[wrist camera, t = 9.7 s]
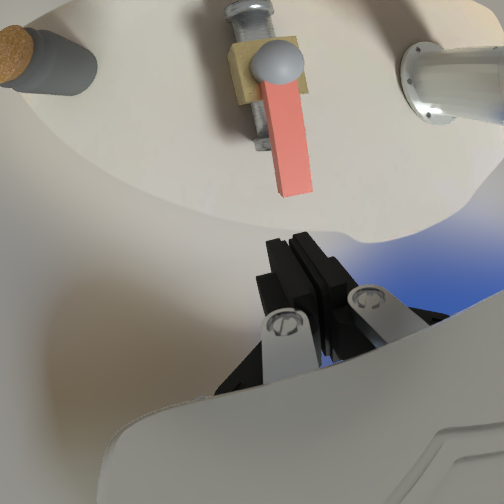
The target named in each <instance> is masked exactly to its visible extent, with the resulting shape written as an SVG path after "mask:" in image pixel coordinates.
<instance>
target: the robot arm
mask: <svg viewBox="0 0 504 504" xmlns="http://www.w3.org/2000/svg"><path fill="white" fill-rule="evenodd" d="M400 76H401V83H402V87H403V91H404V94H405V96H406V99H407V101H408V102H409V104H410V106H411V108H412V109H413V110H414V111H415V113H416V114H417V115H418V116H419V117H420V118H421V119H423V120H424V121H426V122H428V123H431V124H434V125H446V124H449V123H451V122H452V121H454V120H455V119H456V118H457V117H459V118H465V119H471V120H477V121H482V122H487V123H492V124H497V125H502V126H504V46H486V47H467V48H454V49H443V48H442V47H441V46H439V45H437V44H435V43H432V42H424V41H423V42H418V43H415V44H413V45H411V46H410V47H409V48H408V49H407V50H406V52H405V53H404V56H403V58H402V62H401V70H400ZM266 247H267V252H268V257H269V262H270V267H271V272H272V273H268V274H264V275H260V276H256V281H257V286H258V290H259V294H260V298H261V302H262V306H263V310H264V313H265V316H266V317H265V318H264V320H263V321H262V325H261V335H262V340H261V341H260V343H259V344H258V345H257V346H256V347H255V348H254V349H253V350H252V351H251V353H250V354H249V355H248V356H247V357H246V358H245V359H244V360H243V361H242V363H241V364H240V365H239V366H238V367H237V368H236V369H235V370H234V371H233V372H232V374H230V375H229V377H228V378H227V379H226V380H225V381H224V382H223V383H222V384H221V385H220V386H219V387H218V389H217V390H216V392H215V394H214V396H211V397H207V398H205V396H201V397H198V398H196V399H193V400H190V401H187V402H184V403H180V404H176V405H172V406H168V407H165V408H163V409H160V410H157V411H154V412H151V413H149V414H147V415H145V416H142V417H140V418H138V419H136V420H134V421H132V422H131V423H129V424H127V425H126V426H124V427H123V428H122V429H120V430H119V431H118V432H117V433H116V434H115V435H114V436H113V438H112V439H111V441H110V443H109V445H108V447H107V449H106V452H105V455H104V459H103V462H102V466H101V471H100V476H99V482H98V491H97V500H96V504H504V290H502V291H500V292H498V293H496V294H494V295H492V296H490V297H488V298H486V299H484V300H482V301H480V302H479V303H476V304H475V305H473V306H471V307H469V308H467V309H465V310H463V311H461V312H459V313H456V314H453V315H452V316H451V317H450V316H449V315H446V314H442V313H437V312H432V311H426V310H422V309H416V308H411V307H407V306H405V305H404V304H403V303H402V302H401V301H399V300H398V299H397V298H396V297H395V296H394V295H392V294H391V293H390V292H389V291H387V290H386V289H384V288H383V287H381V286H377V285H370V284H369V285H362V286H358V284H357V283H356V282H355V281H354V279H352V277H351V276H350V275H349V273H348V272H347V271H346V270H345V269H344V267H343V266H342V265H341V264H340V262H339V261H338V260H337V259H336V258H335V257H333V256H332V257H329V258H327V256H326V255H325V254H324V252H323V251H322V250H321V249H320V248H319V246H318V245H317V244H316V243H315V241H314V240H313V239H312V238H311V236H310V235H309V234H308V233H307V232H302V233H298V234H294V235H293V238H292V239H289V245H288V244H287V242H286V241H285V240H284V241H281V240H280V239H279V238H277V239H273V240H269V241H266ZM321 349H322V351H323V354H324V355H325V356H328V355H330V357H331V359H332V362H333V363H334V362H337V361H340V360H344V361H341V362H338V363H335V364H332V365H329V366H326V367H323V368H320V366H321V365H322V363H321ZM319 368H320V369H319Z"/></svg>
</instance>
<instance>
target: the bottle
mask: <svg viewBox="0 0 504 504" xmlns="http://www.w3.org/2000/svg"><path fill="white" fill-rule="evenodd" d="M96 73H97V61H96V58H95V56H94V55H93V54H92V53H91V52H90V51H88V50H86V49H85V48H83V47H81V46H79V45H77V44H75V43H73V42H71V41H69V40H67V39H65V38H63V37H61V36H59V35H57V34H55V33H53V32H50V31H47V30H35V29H32V28H22V27H21V26H18V25H12V26H8V27H6V28H4V29H3V30H2V31H0V86H1V87H5V88H13V89H14V90H15V91H17V92H22V93H35V94H51V95H64V96H73V95H77V94H79V93H81V92H83V91H84V90H86V89H87V88H88V87H89V86H90V84H91V83H92V82H93V80H94V78H95V76H96Z"/></svg>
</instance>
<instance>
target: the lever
mask: <svg viewBox="0 0 504 504" xmlns="http://www.w3.org/2000/svg"><path fill="white" fill-rule="evenodd" d="M250 69H251V73H252V75H253V77H254V78H255V79H256V80H257V81H258V82H259V83H260V87H261V92H262V98H263V103H264V109H265V114H266V120H267V126H268V132H269V138H270V144H271V150H272V156H273V162H274V169H275V175H276V182H277V188H278V192H279V193H280V195H281V196H282V197H283V198H284V197H289V196H294V195H299V194H304V193H309V192H313V190H312V181H311V173H310V164H309V156H308V149H307V141H306V134H305V127H304V121H303V114H302V108H301V101H300V95H299V89H298V84H297V78H298V77H299V76H300V75H301V74H302V72H303V69H304V58H303V55H302V53H301V51H300V50H299V49H298V48H297V47H296V46H295V45H294V44H292V43H290V42H288V41H285V40H272V41H269V42H267V43H265V44H264V45H262V47H261V48H260V49H259V50H258V51H257V52H256V53H255V54H254V56H253V57H252V59H251V63H250Z"/></svg>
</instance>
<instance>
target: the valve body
mask: <svg viewBox="0 0 504 504" xmlns="http://www.w3.org/2000/svg"><path fill="white" fill-rule="evenodd" d="M224 13H225V17H226V21H227V22H230V23H232V25H233V29H234V33H235V37H236V42H237V43H233V44H232V46H231V48H230V50H229V53H228V55H227V59H228V63H229V67H230V72H231V76H232V80H233V85H234V89H235V93H236V98H237V102H238V106H240V105H245V104H250V103H251V107H252V112H253V116H254V121H255V126H256V130H257V135H258V137H256V138H254V139H253V140H254V144H255V149H256V151H270V150H271V144H270V138H269V132H268V126H267V120H266V114H265V109H264V103H263V98H262V92H261V87H260V83H259V82H258V81H257V80H256V79H255V78H254V77H253V75H252V73H251V69H250V63H251V59H252V57H253V56H254V54H255V53H256V52H257V51H258V50H259V49H260V48H261V47H262V45H264V44H265V43H267V42H269V41H272V40H285V41H288V42H290V43H292V44H294V45H295V46H296V47H297V48H298V49H299V47H298V43H297V39H296V36H288V37H277V38H276V36H275V32H274V28H273V24H272V21H271V17H270V16H271V15H272V14H273V13H274V9H273V6H272V2H271V1H270V0H241V1H237V2H235V3H232V4H230V5H228V6H227V7H226V8H225V9H224ZM297 84H298V89H299V95H301V94H307V93H308V88H307V83H306V78H305V74H304V69H303V72H302V74H301V75H300V76H299V77H298V78H297Z"/></svg>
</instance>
